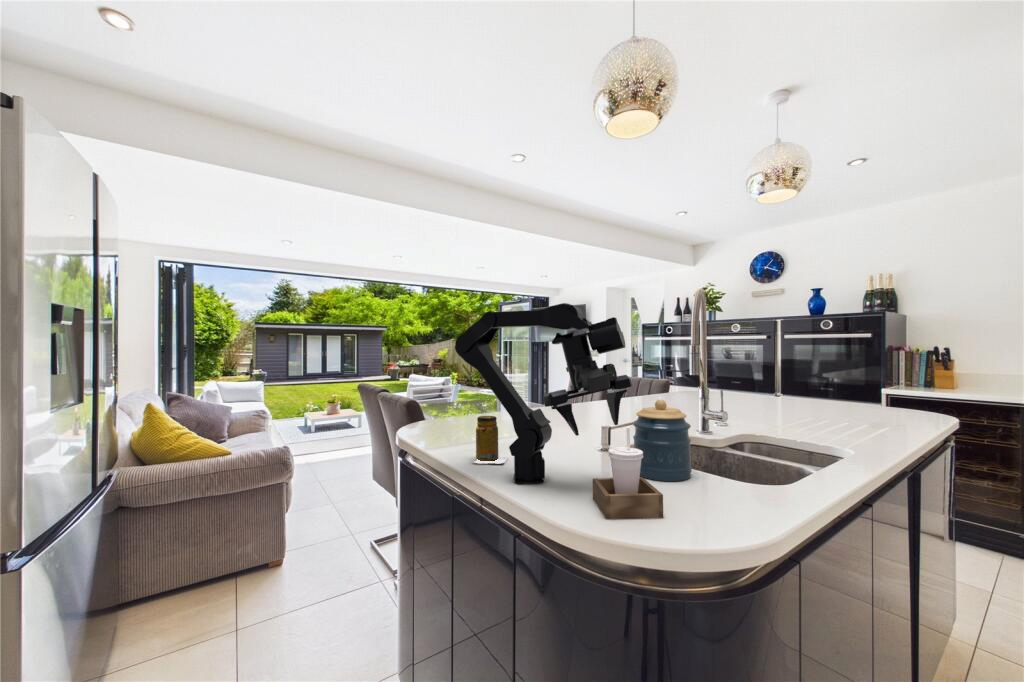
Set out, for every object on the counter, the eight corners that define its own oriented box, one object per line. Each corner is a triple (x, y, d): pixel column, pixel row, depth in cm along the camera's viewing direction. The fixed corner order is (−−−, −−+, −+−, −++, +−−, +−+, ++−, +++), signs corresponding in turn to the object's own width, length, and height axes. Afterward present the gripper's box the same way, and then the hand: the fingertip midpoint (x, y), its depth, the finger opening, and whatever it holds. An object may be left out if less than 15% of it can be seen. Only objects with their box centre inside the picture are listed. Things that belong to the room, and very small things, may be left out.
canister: (694, 484, 90) (693, 403, 90) (633, 479, 94) (631, 402, 94) (688, 468, 102) (687, 397, 103) (634, 464, 106) (633, 396, 107)
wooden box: (606, 519, 72) (605, 496, 72) (593, 498, 82) (592, 478, 82) (663, 517, 72) (663, 494, 72) (643, 497, 82) (642, 477, 82)
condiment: (478, 457, 115) (478, 414, 116) (508, 458, 114) (507, 415, 114) (471, 464, 108) (471, 418, 109) (502, 465, 107) (502, 419, 107)
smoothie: (640, 511, 73) (638, 432, 73) (604, 505, 76) (603, 429, 76) (647, 500, 79) (645, 426, 79) (613, 494, 82) (612, 423, 82)
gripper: (549, 364, 80) (569, 443, 78) (634, 345, 85) (655, 420, 83) (535, 369, 91) (552, 440, 89) (611, 352, 95) (629, 419, 93)
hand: (597, 430), depth 88 cm, fingers open, 9 cm apart
